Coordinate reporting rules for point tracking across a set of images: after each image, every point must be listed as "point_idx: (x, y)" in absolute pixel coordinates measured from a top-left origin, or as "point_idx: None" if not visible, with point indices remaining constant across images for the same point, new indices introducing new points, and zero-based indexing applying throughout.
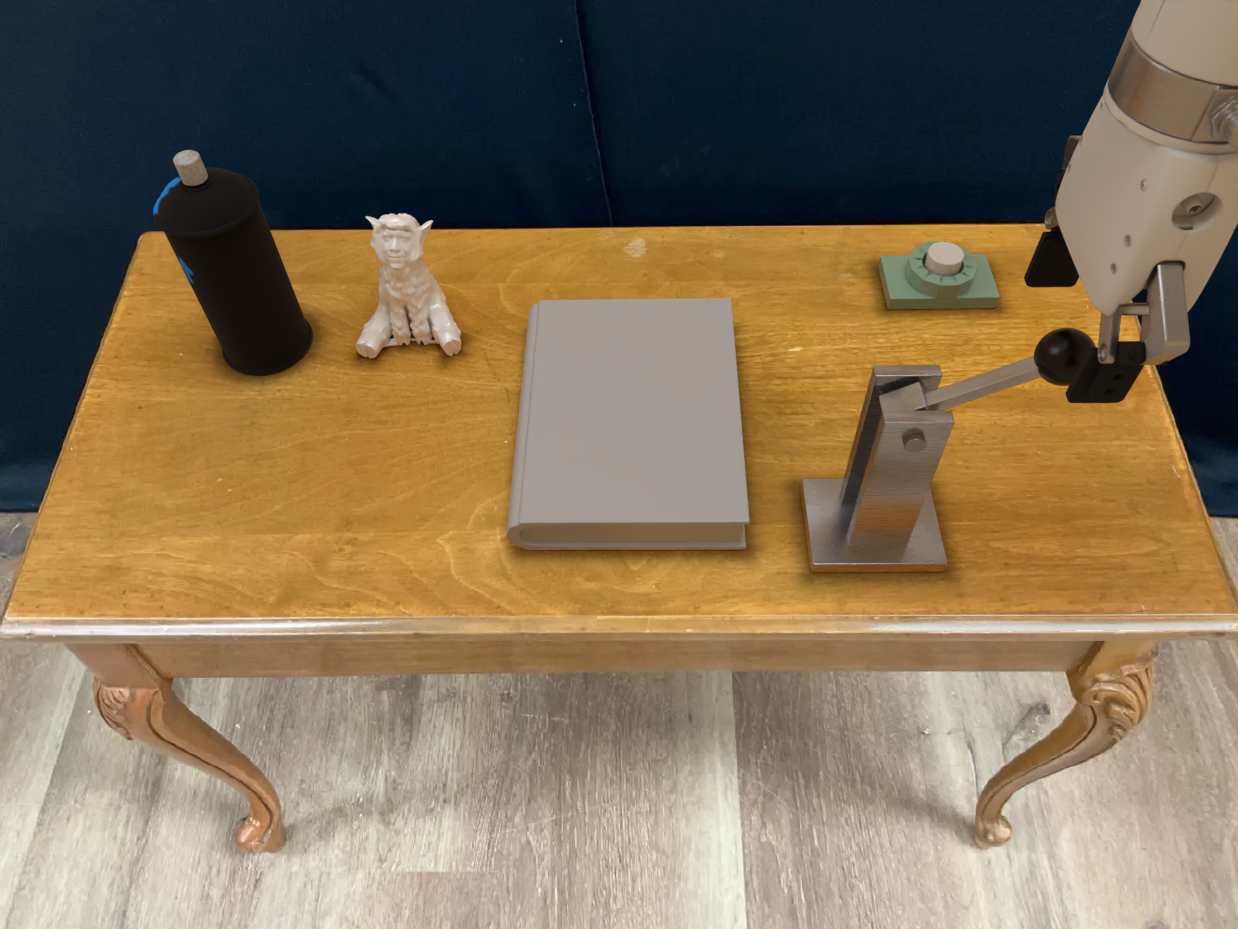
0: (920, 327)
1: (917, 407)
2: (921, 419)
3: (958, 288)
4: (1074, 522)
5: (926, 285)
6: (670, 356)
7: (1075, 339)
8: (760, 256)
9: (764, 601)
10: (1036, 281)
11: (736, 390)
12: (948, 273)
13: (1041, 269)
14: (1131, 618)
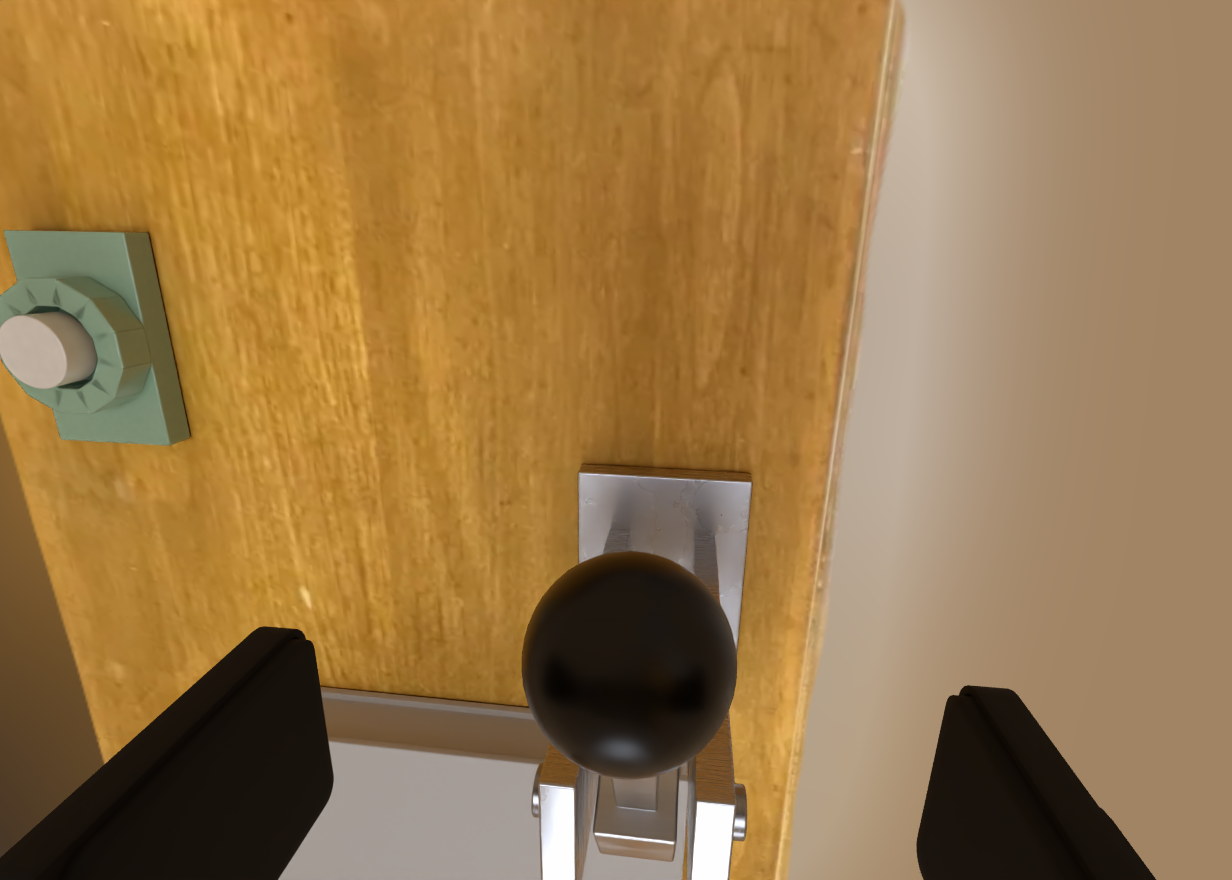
0: (224, 388)
1: (671, 847)
2: (720, 865)
3: (122, 328)
4: (665, 224)
5: (127, 388)
6: (370, 826)
7: (635, 743)
8: (106, 612)
9: (774, 714)
10: (314, 792)
11: (432, 756)
12: (86, 346)
13: (273, 854)
14: (877, 180)
